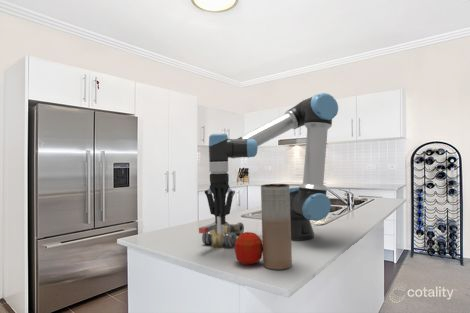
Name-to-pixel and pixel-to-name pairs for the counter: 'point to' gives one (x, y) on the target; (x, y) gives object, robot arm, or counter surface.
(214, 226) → the lever
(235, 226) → the pipe
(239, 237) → the apple
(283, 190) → the vase
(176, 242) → the counter surface
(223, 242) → the valve pipe
